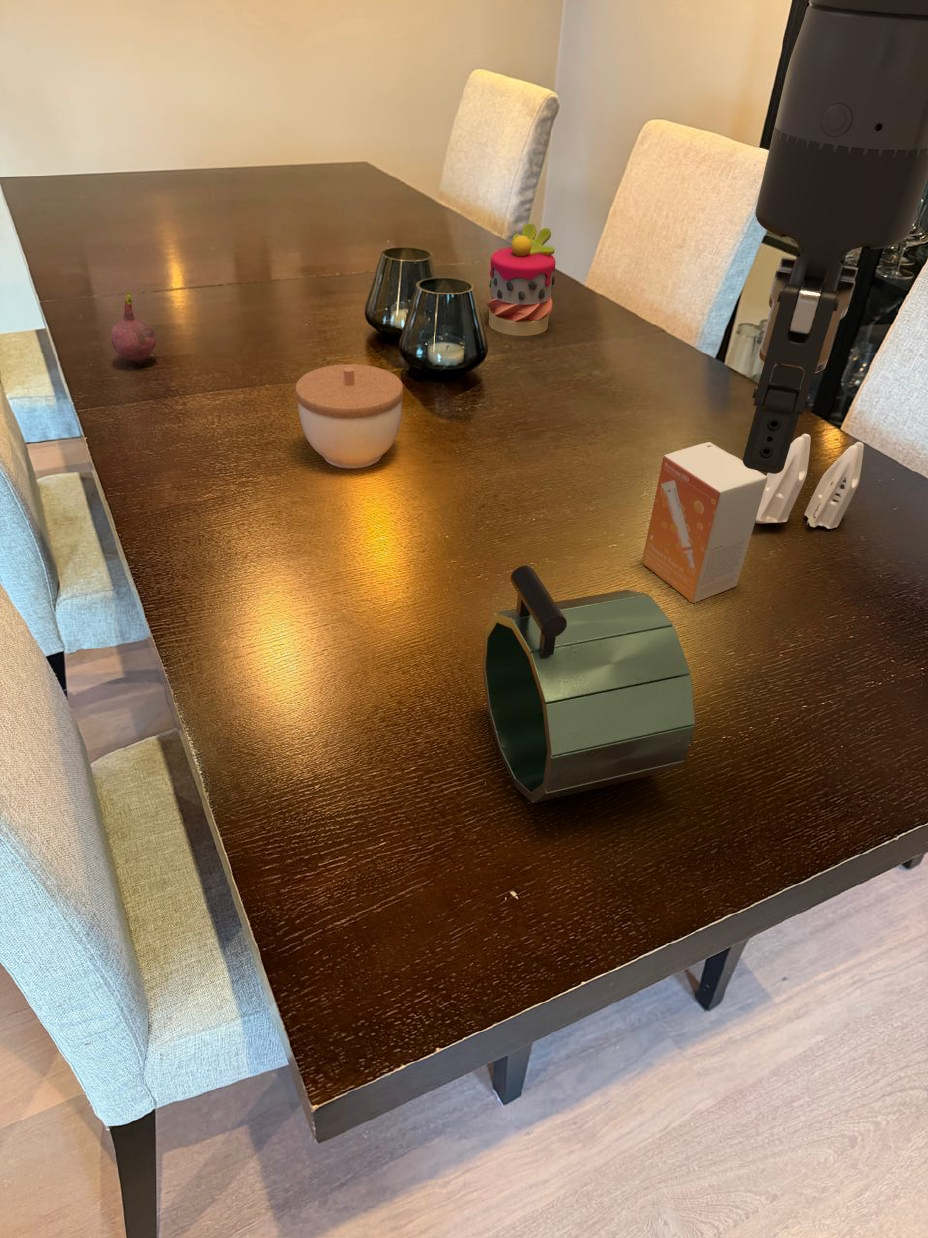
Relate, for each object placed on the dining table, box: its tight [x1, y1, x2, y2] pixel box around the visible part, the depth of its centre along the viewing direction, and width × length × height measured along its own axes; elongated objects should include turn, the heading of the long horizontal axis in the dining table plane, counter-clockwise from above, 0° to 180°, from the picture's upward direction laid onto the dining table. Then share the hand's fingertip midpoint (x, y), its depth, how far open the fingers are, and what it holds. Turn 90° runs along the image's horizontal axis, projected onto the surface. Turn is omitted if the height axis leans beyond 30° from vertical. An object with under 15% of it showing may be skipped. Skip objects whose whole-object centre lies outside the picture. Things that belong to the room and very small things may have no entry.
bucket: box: [481, 565, 696, 804], centre depth 67 cm, size 11×14×18 cm
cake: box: [486, 222, 557, 337], centre depth 143 cm, size 10×11×15 cm
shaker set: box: [755, 433, 865, 530], centre depth 99 cm, size 12×4×11 cm, turn 99°
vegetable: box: [110, 294, 157, 364], centre depth 126 cm, size 6×6×10 cm
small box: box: [641, 441, 768, 604], centre depth 89 cm, size 8×6×13 cm
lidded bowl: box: [294, 363, 404, 469], centre depth 107 cm, size 13×13×11 cm
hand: (771, 436), depth 52 cm, fingers open, 8 cm apart
